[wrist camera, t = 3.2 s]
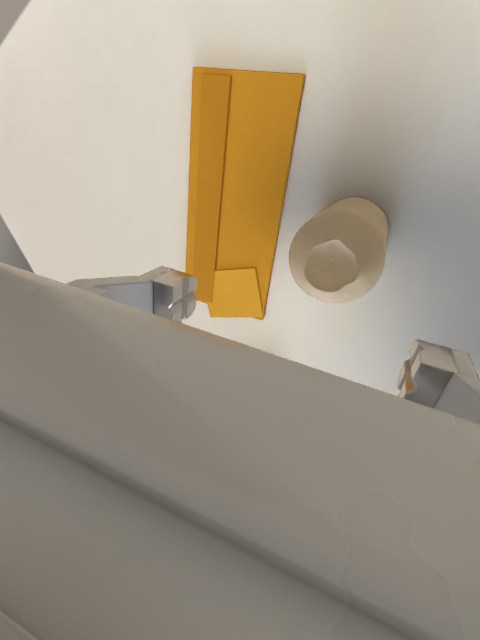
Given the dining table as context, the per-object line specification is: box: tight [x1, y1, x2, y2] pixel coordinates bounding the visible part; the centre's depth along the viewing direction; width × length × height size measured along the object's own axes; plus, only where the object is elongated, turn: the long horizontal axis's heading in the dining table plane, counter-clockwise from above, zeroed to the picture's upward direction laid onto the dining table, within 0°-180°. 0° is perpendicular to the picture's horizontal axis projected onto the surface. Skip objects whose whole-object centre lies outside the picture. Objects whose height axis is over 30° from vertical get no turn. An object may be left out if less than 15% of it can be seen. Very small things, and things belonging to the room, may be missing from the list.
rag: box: [186, 67, 305, 320], centre depth 29 cm, size 9×21×1 cm, turn 172°
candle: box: [289, 197, 388, 303], centre depth 22 cm, size 6×6×10 cm
